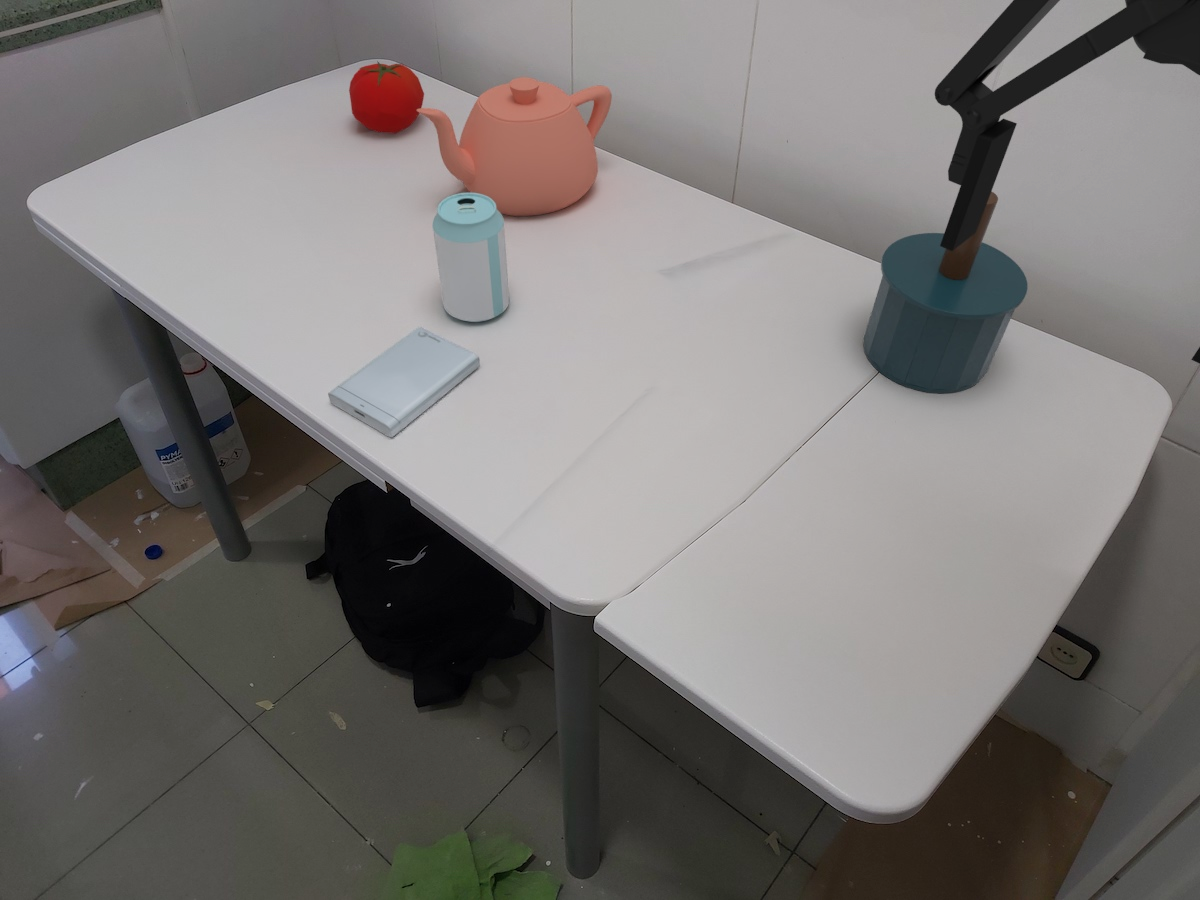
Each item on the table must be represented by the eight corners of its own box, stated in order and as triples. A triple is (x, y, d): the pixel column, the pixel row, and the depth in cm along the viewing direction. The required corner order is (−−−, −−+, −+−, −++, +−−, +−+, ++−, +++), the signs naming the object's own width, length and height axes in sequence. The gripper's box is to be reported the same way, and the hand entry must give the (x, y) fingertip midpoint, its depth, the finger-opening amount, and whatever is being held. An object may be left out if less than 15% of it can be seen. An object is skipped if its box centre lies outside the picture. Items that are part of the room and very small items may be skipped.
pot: (1008, 353, 91) (1043, 276, 84) (948, 411, 85) (980, 334, 78) (903, 301, 97) (928, 225, 90) (839, 352, 91) (861, 274, 84)
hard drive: (418, 324, 90) (326, 390, 83) (479, 355, 87) (389, 426, 80) (420, 337, 91) (330, 403, 84) (480, 368, 88) (392, 439, 81)
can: (430, 306, 95) (415, 206, 86) (480, 279, 98) (470, 180, 90) (473, 335, 91) (462, 235, 83) (523, 306, 95) (517, 207, 86)
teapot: (456, 246, 103) (443, 137, 93) (405, 180, 113) (389, 76, 103) (640, 195, 111) (646, 90, 102) (577, 138, 121) (578, 38, 112)
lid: (1048, 282, 85) (1087, 197, 78) (980, 344, 78) (1017, 256, 71) (924, 227, 91) (951, 144, 84) (852, 280, 84) (875, 194, 78)
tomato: (340, 128, 122) (328, 67, 116) (397, 103, 128) (388, 44, 122) (385, 150, 118) (374, 88, 112) (441, 123, 124) (434, 63, 118)
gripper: (948, -241, 35) (835, 224, 51) (1797, -107, 23) (1313, 449, 39) (1033, -260, 39) (905, 178, 54) (1802, -153, 27) (1359, 370, 42)
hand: (1074, 291), depth 46 cm, fingers open, 13 cm apart
